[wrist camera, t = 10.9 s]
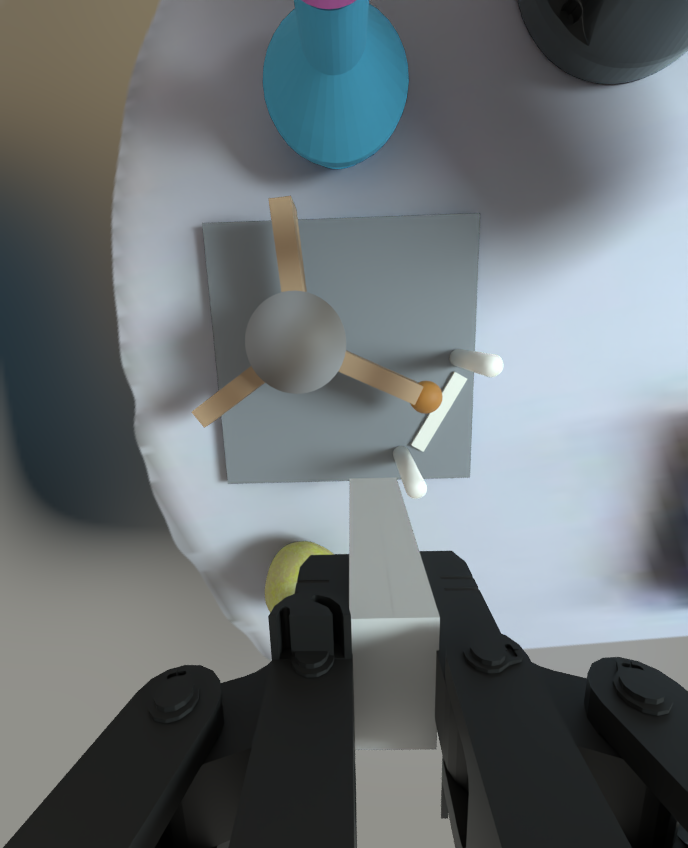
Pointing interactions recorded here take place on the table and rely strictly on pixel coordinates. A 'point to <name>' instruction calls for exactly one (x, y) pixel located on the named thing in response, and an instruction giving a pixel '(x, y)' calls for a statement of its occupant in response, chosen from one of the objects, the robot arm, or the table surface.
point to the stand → (356, 348)
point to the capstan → (303, 339)
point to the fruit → (288, 570)
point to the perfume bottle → (335, 80)
